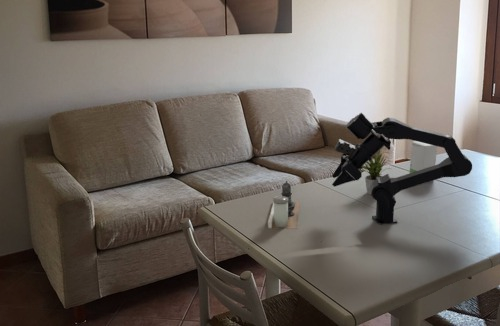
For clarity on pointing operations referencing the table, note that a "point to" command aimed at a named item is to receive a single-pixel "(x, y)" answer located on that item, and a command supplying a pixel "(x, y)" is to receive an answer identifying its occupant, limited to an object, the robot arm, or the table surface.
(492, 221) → the table surface
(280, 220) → the sage ceramic jar
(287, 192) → the grey chess piece
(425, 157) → the skincare box
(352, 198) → the table surface
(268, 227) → the rail
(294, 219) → the shelf board
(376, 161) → the house plant
